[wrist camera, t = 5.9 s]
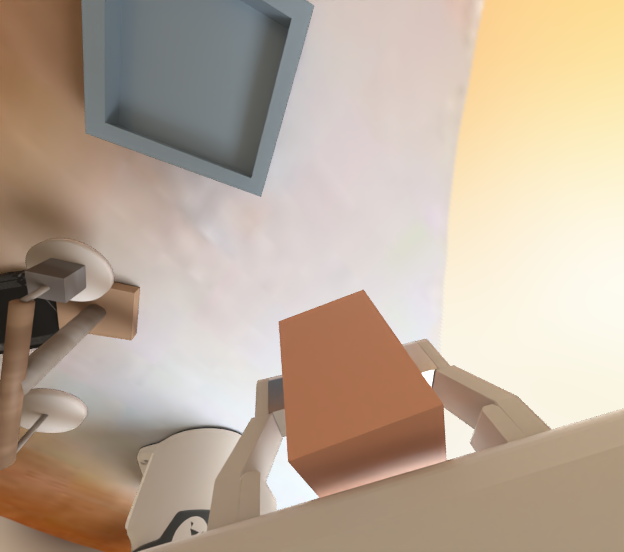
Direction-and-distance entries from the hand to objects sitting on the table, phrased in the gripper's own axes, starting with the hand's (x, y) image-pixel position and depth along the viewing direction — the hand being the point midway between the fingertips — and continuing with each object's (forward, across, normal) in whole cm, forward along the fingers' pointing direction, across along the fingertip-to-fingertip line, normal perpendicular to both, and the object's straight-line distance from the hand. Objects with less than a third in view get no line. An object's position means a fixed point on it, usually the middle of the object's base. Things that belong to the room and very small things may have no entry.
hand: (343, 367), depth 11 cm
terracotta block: (+2, 0, 0) cm, 2 cm away
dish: (+14, +4, -14) cm, 20 cm away
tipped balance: (+15, +20, +1) cm, 25 cm away
